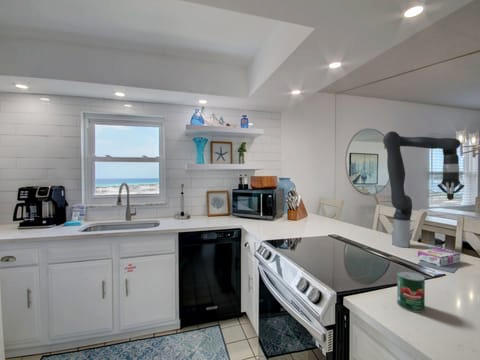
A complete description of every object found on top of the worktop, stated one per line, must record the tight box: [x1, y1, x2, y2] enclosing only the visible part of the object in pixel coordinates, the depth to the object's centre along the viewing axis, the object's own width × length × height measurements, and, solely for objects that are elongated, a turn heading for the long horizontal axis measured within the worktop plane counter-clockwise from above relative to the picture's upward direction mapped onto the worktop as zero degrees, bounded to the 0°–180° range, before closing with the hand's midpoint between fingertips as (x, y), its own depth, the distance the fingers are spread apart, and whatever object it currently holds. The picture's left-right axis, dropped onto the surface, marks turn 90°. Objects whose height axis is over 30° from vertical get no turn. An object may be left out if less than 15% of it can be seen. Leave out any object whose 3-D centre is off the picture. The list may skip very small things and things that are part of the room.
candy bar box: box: [417, 247, 461, 266], centre depth 126 cm, size 11×5×16 cm
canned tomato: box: [396, 270, 426, 313], centre depth 83 cm, size 8×8×11 cm
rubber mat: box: [417, 260, 462, 274], centre depth 123 cm, size 14×18×1 cm
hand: (450, 199), depth 145 cm, fingers closed
